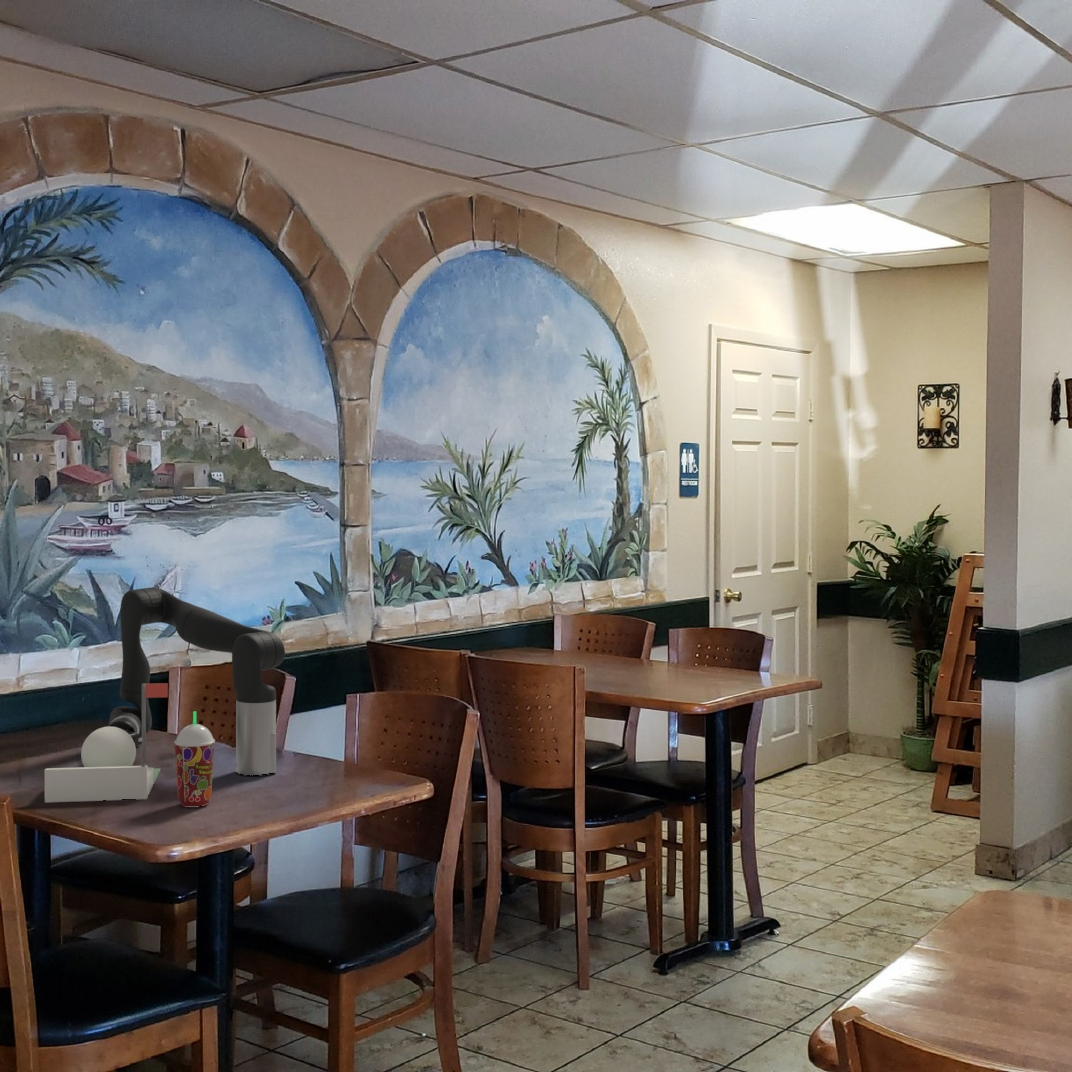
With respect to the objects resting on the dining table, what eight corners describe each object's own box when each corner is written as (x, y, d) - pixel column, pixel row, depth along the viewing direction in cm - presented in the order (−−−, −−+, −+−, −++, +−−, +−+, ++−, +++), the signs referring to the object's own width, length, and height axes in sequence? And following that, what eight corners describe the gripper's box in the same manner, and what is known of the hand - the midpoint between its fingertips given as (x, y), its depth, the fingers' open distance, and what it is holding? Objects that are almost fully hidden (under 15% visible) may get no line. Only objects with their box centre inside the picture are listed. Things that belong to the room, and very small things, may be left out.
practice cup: (178, 769, 309) (178, 665, 308) (167, 798, 280) (167, 683, 279) (68, 772, 304) (67, 666, 303) (44, 802, 275) (44, 686, 274)
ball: (139, 763, 305) (137, 716, 301) (133, 787, 294) (131, 740, 290) (86, 764, 303) (83, 718, 299) (78, 789, 292) (75, 741, 288)
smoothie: (204, 810, 270) (204, 715, 269) (167, 808, 271) (167, 713, 271) (221, 801, 278) (221, 709, 277) (185, 799, 280) (185, 707, 279)
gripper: (94, 718, 318) (82, 731, 301) (149, 717, 320) (141, 729, 303) (94, 748, 318) (83, 763, 301) (149, 747, 321) (141, 761, 304)
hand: (112, 746), depth 302 cm, fingers closed
